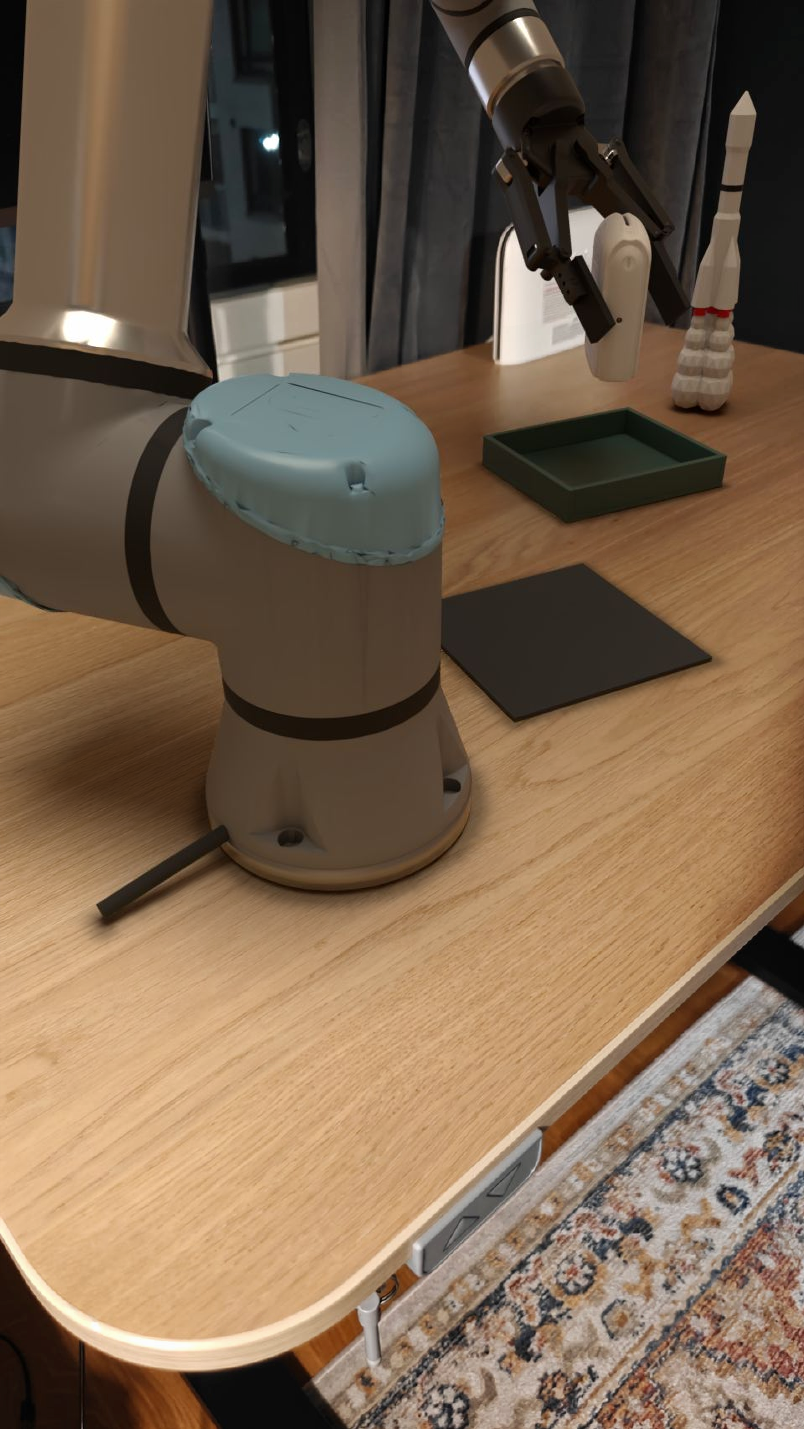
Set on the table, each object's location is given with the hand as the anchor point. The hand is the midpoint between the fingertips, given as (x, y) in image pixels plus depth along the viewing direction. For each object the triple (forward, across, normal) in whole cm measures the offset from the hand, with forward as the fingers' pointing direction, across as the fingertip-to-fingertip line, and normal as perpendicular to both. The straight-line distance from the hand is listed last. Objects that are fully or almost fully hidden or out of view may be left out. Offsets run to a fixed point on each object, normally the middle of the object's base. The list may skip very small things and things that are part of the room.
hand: (642, 324), depth 87 cm
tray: (+8, 0, -13) cm, 15 cm away
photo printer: (+1, 0, -5) cm, 5 cm away
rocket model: (+3, -23, -18) cm, 29 cm away
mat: (+22, +24, +1) cm, 32 cm away
